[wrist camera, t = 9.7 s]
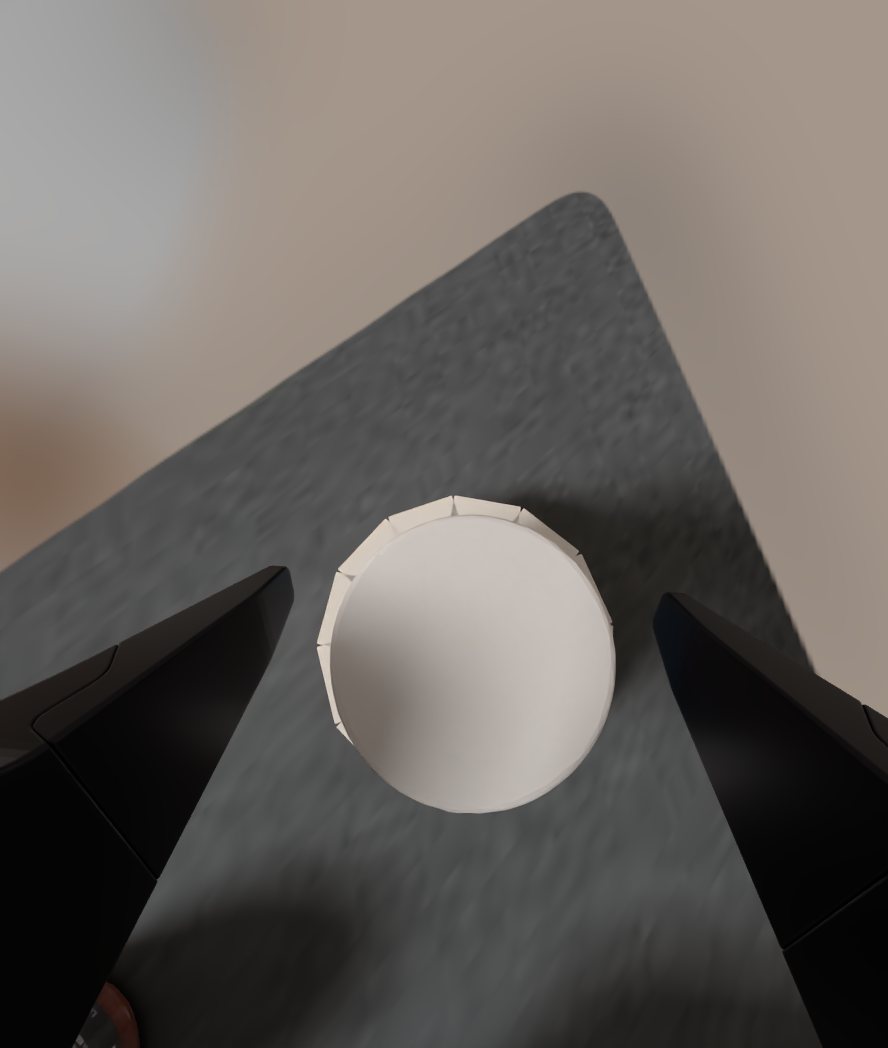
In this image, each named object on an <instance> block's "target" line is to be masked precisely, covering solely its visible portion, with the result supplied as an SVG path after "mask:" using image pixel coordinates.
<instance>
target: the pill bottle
mask: <svg viewBox="0 0 888 1048" xmlns="http://www.w3.org/2000/svg"><path fill="white" fill-rule="evenodd" d="M330 673H331V684H332V690H333V695H334V699H335V703H336V707H337V711H338V714H339V717H340V719H341V721H342V723H343V726H344V728H345V730H346V732H347V735H348V737H349V738H350V740H351V741H352V743H353V745H354V746H355V748H356V750H357V751H358V753H359V754H360V755H361V756H362V758H363V759H364V760H365V761H366V763H367V764H368V765H369V766H370V767H371V768H372V769H373V770H374V771H375V772H376V773H377V774H378V775H379V776H380V777H381V778H382V779H383V780H385V781H386V782H387V783H388V784H389V785H391V786H392V787H393V788H395V789H396V790H398V791H399V792H401V793H403V794H404V795H406V796H408V797H410V798H412V799H414V800H416V801H418V802H420V803H422V804H425V805H429V806H432V807H435V808H439V809H442V810H445V811H449V812H455V813H488V812H495V811H503V810H508V809H511V808H514V807H517V806H521V805H524V804H527V803H529V802H531V801H533V800H535V799H536V798H538V797H540V796H542V795H544V794H545V793H547V792H549V791H550V790H552V789H553V788H554V787H556V786H557V785H558V784H560V783H561V782H562V781H563V780H565V779H566V778H567V777H568V776H569V775H570V774H571V773H572V772H574V771H575V769H576V768H577V767H578V766H579V764H580V763H581V762H582V761H583V759H584V758H585V757H586V755H587V754H588V753H589V752H590V750H591V749H592V747H593V745H594V744H595V742H596V741H597V739H598V737H599V735H600V733H601V731H602V729H603V726H604V724H605V721H606V718H607V716H608V713H609V710H610V707H611V703H612V698H613V692H614V687H615V674H616V652H615V646H614V641H613V636H612V630H611V625H610V622H609V619H608V616H607V613H606V610H605V607H604V605H603V603H602V601H601V599H600V596H599V594H598V592H597V591H596V589H595V587H594V586H593V584H592V583H591V581H590V579H589V578H588V576H587V575H586V574H585V572H584V571H583V570H582V569H581V567H580V566H579V565H578V564H577V563H576V562H575V561H574V559H573V558H572V557H571V556H570V555H568V554H567V553H566V552H565V551H564V550H563V549H562V548H561V547H559V546H558V545H557V544H555V543H554V542H553V541H551V540H550V539H549V538H547V537H545V536H544V535H542V534H540V533H538V532H537V531H535V530H533V529H531V528H529V527H527V526H525V525H522V524H519V523H516V522H513V521H510V520H507V519H503V518H498V517H492V516H486V515H472V514H469V515H457V516H449V517H443V518H438V519H435V520H432V521H429V522H425V523H422V524H420V525H417V526H415V527H413V528H411V529H409V530H407V531H405V532H403V533H401V534H400V535H398V536H396V537H395V538H393V539H392V540H390V541H389V542H388V543H387V544H385V545H384V546H383V547H382V548H380V549H379V550H378V551H377V552H376V553H375V554H374V555H373V556H372V557H371V558H370V559H369V560H368V561H367V563H366V564H365V565H364V566H363V567H362V569H361V570H360V571H359V573H358V574H357V575H356V577H355V578H354V580H353V581H352V583H351V585H350V587H349V588H348V590H347V592H346V594H345V596H344V599H343V601H342V603H341V606H340V608H339V610H338V614H337V617H336V621H335V624H334V628H333V633H332V640H331V649H330Z"/></svg>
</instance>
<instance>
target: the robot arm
mask: <svg viewBox="0 0 888 1048" xmlns="http://www.w3.org/2000/svg"><path fill="white" fill-rule="evenodd" d="M293 602H294V589H293V584H292V579H291V574H290V571H289V569H288V568H287V567H285V566H269V567H267V568H265V569H263V570H261V571H259V572H257V573H255V574H253V575H251V576H249V577H247V578H245V579H243V580H242V581H240V582H238V583H236V584H234V585H232V586H230V587H228V588H226V589H224V590H222V591H220V592H218V593H216V594H214V595H212V596H210V597H208V598H206V599H204V600H202V601H200V602H198V603H196V604H195V605H193V606H191V607H189V608H187V609H185V610H183V611H181V612H179V613H177V614H175V615H173V616H171V617H169V618H167V619H165V620H163V621H161V622H159V623H157V624H155V625H153V626H151V627H149V628H148V629H146V630H144V631H142V632H140V633H138V634H136V635H134V636H132V637H130V638H128V639H126V640H124V641H122V642H120V643H119V645H114V646H112V647H110V648H108V649H106V650H104V651H102V652H100V653H99V654H97V655H95V656H93V657H91V658H89V659H86V660H84V661H82V662H80V663H78V664H76V665H74V666H72V667H70V668H68V669H66V670H64V671H62V672H60V673H58V674H56V675H54V676H51V677H49V678H47V679H45V680H43V681H41V682H38V683H36V684H34V685H32V686H30V687H28V688H25V689H23V690H21V691H19V692H17V693H14V694H12V695H10V696H8V697H6V698H3V699H1V700H0V1048H72V1047H73V1045H74V1043H75V1042H76V1040H77V1038H78V1036H79V1034H80V1032H81V1030H82V1028H83V1026H84V1024H85V1022H86V1020H87V1018H88V1016H89V1014H90V1012H91V1010H92V1008H93V1006H94V1004H95V1003H96V1001H97V999H98V997H99V995H100V993H101V991H102V989H103V987H104V985H105V983H106V981H107V979H108V977H109V975H110V973H111V971H112V969H113V967H114V966H115V964H116V962H117V960H118V958H119V956H120V954H121V952H122V950H123V948H124V946H125V944H126V942H127V940H128V938H129V936H130V934H131V932H132V930H133V929H134V927H135V925H136V923H137V921H138V919H139V917H140V915H141V913H142V911H143V909H144V907H145V905H146V903H147V901H148V899H149V897H150V895H151V893H152V892H153V890H154V888H155V886H156V884H157V879H158V878H159V877H160V875H161V873H162V871H163V869H164V867H165V866H166V864H167V862H168V860H169V858H170V856H171V854H172V852H173V850H174V848H175V846H176V844H177V842H178V840H179V838H180V836H181V834H182V832H183V830H184V829H185V827H186V825H187V823H188V821H189V819H190V817H191V815H192V813H193V811H194V809H195V807H196V805H197V803H198V801H199V799H200V797H201V795H202V793H203V792H204V790H205V788H206V786H207V784H208V782H209V780H210V778H211V776H212V774H213V772H214V770H215V768H216V766H217V764H218V762H219V760H220V758H221V756H222V755H223V753H224V751H225V749H226V747H227V745H228V743H229V741H230V739H231V737H232V735H233V733H234V731H235V729H236V727H237V725H238V723H239V721H240V719H241V717H242V716H243V714H244V712H245V710H246V708H247V706H248V704H249V702H250V700H251V698H252V696H253V694H254V692H255V690H256V688H257V686H258V684H259V682H260V680H261V679H262V677H263V675H264V673H265V671H266V669H267V667H268V665H269V663H270V661H271V659H272V657H273V654H274V652H275V649H276V647H277V644H278V642H279V639H280V636H281V634H282V631H283V628H284V626H285V623H286V621H287V618H288V615H289V613H290V610H291V607H292V605H293ZM653 630H654V633H655V637H656V640H657V644H658V647H659V650H660V654H661V657H662V660H663V664H664V667H665V670H666V674H667V677H668V680H669V683H670V686H671V689H672V691H673V694H674V696H675V699H676V701H677V704H678V706H679V708H680V711H681V713H682V716H683V718H684V720H685V723H686V725H687V727H688V730H689V732H690V734H691V737H692V739H693V742H694V744H695V746H696V749H697V751H698V753H699V756H700V758H701V760H702V763H703V765H704V768H705V770H706V772H707V775H708V777H709V779H710V782H711V784H712V786H713V789H714V791H715V794H716V796H717V798H718V801H719V803H720V805H721V808H722V810H723V812H724V815H725V817H726V820H727V822H728V824H729V827H730V829H731V831H732V834H733V836H734V838H735V841H736V843H737V846H738V848H739V850H740V853H741V855H742V857H743V860H744V862H745V864H746V867H747V869H748V872H749V874H750V876H751V879H752V881H753V883H754V886H755V888H756V890H757V893H758V895H759V898H760V900H761V902H762V905H763V907H764V909H765V912H766V914H767V916H768V919H769V921H770V924H771V926H772V928H773V931H774V933H775V935H776V938H777V940H778V942H779V945H780V947H781V948H782V949H784V950H783V951H782V953H783V955H784V958H785V960H786V962H787V965H788V967H789V969H790V972H791V974H792V976H793V979H794V981H795V984H796V986H797V988H798V991H799V993H800V995H801V998H802V1000H803V1002H804V1005H805V1007H806V1009H807V1012H808V1014H809V1017H810V1019H811V1021H812V1024H813V1026H814V1028H815V1031H816V1033H817V1035H818V1038H819V1040H820V1043H821V1045H822V1047H823V1048H888V718H886V717H885V716H883V715H882V714H880V713H878V712H877V711H875V710H873V709H872V708H870V707H869V706H867V705H862V704H861V702H860V701H858V700H857V699H855V698H854V697H852V696H850V695H849V694H847V693H845V692H844V691H842V690H841V689H839V688H837V687H836V686H834V685H833V684H831V683H829V682H828V681H826V680H824V679H823V678H821V677H819V676H818V675H816V674H815V673H813V672H811V671H810V670H808V669H806V668H805V667H803V666H802V665H800V664H798V663H797V662H795V661H793V660H792V659H790V658H788V657H787V656H785V655H784V654H782V653H780V652H779V651H777V650H775V649H774V648H772V647H771V646H769V645H767V644H766V643H764V642H762V641H761V640H759V639H758V638H756V637H754V636H753V635H751V634H749V633H748V632H746V631H744V630H743V629H741V628H740V627H738V626H736V625H735V624H733V623H731V622H730V621H728V620H727V619H725V618H723V617H722V616H720V615H718V614H717V613H715V612H713V611H712V610H710V609H709V608H707V607H705V606H704V605H702V604H700V603H699V602H697V601H696V600H694V599H692V598H691V597H689V596H687V595H686V594H683V593H671V592H667V593H664V594H663V595H662V597H661V599H660V602H659V604H658V607H657V610H656V612H655V615H654V617H653Z"/></svg>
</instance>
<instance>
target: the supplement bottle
mask: <svg viewBox="0 0 888 1048" xmlns="http://www.w3.org/2000/svg"><path fill="white" fill-rule="evenodd" d="M72 1048H140V1046H139V1033H138V1028H137V1023H136V1021H135V1017H134V1013H133V1012H132V1009H131V1006H130V1005H129V1002H128V1001H127V1000H126V998H125V997H124V996H123V995H122V994H121V993H120V991H119V990H118V989H117V988H116V987H115V986H114V984H109V983H108V982H107V981H106V983H105V985H104V987H103V989H102V991H101V993H100V995H99V997H98V999H97V1001H96V1003H95V1004H94V1006H93V1008H92V1010H91V1012H90V1014H89V1016H88V1018H87V1020H86V1022H85V1024H84V1026H83V1028H82V1030H81V1032H80V1034H79V1036H78V1038H77V1040H76V1042H75V1043H74V1045H73V1047H72Z"/></svg>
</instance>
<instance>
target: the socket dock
mask: <svg viewBox="0 0 888 1048" xmlns="http://www.w3.org/2000/svg"><path fill="white" fill-rule="evenodd" d="M520 509H521V507H519V506H513V505H507V504H501V503H495V502H490V501H484V500H478V499H472V498H466V497H461V496H454V501H453V499H452V496H449V497H446V498H443V499H440V500H437V501H434V502H431V503H428V504H425V505H422V506H419V507H416V508H413V509H410V510H407V511H404V512H401V513H398V514H395V515H392V516H389V517H388V518H389V521H390V522H389V521H388V520H386V519H385V520H384V521H383V522H382V523H381V524H380V525H379V526H378V527H377V528H376V529H375V530H374V531H373V532H372V534H371V535H370V536H369V537H368V538H367V539H366V540H365V541H364V542H363V543H362V544H361V545H360V546H359V547H358V548H357V549H356V551H355V552H354V553H353V554H352V555H351V556H350V557H349V558H348V559H347V560H346V561H345V562H344V563H343V564H342V565H341V566H340V568H339V569H338V570H340V571H341V572H342V573H338V572H336V575H335V579H334V582H333V586H332V590H331V593H330V597H329V601H328V604H327V608H326V612H325V616H324V619H323V623H322V627H321V630H320V634H319V638H318V641H317V644H322V646H319V647H317V650H318V654H319V659H320V663H321V667H322V671H323V676H324V680H325V684H326V688H327V693H328V697H329V701H330V705H331V710H332V714H333V718H334V722H335V724H336V723H338V722H341V719H340V717H339V714H338V711H337V707H336V703H335V699H334V695H333V690H332V684H331V673H330V649H331V640H332V633H333V628H334V624H335V621H336V617H337V614H338V610H339V608H340V606H341V603H342V601H343V599H344V596H345V594H346V592H347V590H348V588H349V587H350V585H351V583H352V581H353V580H354V578H355V577H356V575H357V574H358V573H359V571H360V570H361V569H362V567H363V566H364V565H365V564H366V563H367V561H368V560H369V559H370V558H371V557H372V556H373V555H374V554H375V553H376V552H377V551H378V550H379V549H380V548H382V547H383V546H384V545H385V544H387V543H388V542H389V541H390V540H392V539H393V538H395V537H396V536H398V535H400V534H401V533H403V532H405V531H407V530H409V529H411V528H413V527H415V526H417V525H420V524H422V523H425V522H429V521H432V520H435V519H438V518H443V517H449V516H457V515H469V514H472V515H486V516H492V517H498V518H503V519H507V520H510V521H513V522H516V523H519V524H522V525H525V526H527V527H529V528H531V529H533V530H535V531H537V532H538V533H540V534H542V535H544V536H545V537H547V538H549V539H550V540H551V541H553V542H554V543H555V544H557V545H558V546H559V547H561V548H562V549H563V550H564V551H565V552H566V553H567V554H568V555H570V556H571V557H572V558H573V559H574V561H575V562H576V563H577V564H578V565H579V566H580V567H581V569H582V570H583V571H584V572H585V574H586V575H587V576H588V578H589V579H590V581H591V583H592V584H593V586H594V587H595V589H596V591H597V592H598V594H599V596H600V599H601V601H602V603H603V605H604V607H605V610H606V613H607V616H608V619H609V622H610V623H612V620H611V617H610V615H609V613H608V611H607V609H606V606H605V604H604V602H603V600H602V598H601V595H600V593H599V591H598V589H597V587H596V584H595V582H594V580H593V578H592V576H591V573H590V571H589V569H588V567H587V565H586V562H585V560H584V558H583V556H582V554H580V555H577V554H578V552H579V550H577V549H576V548H575V547H573V546H572V545H571V544H569V543H568V542H567V541H566V540H564V539H563V538H562V537H560V536H559V535H558V534H557V533H555V532H554V531H553V530H551V529H550V528H549V527H548V526H546V525H545V524H544V523H542V522H541V521H540V520H538V519H537V518H536V517H535V516H533V515H532V514H531V513H529V512H528V511H527V510H526V509H523V510H522V511H521V512H520ZM576 555H577V556H576ZM611 630H612V636H613V626H611ZM337 728H338V729H339V730H340V731H341V732H342V733H343V734H344V736H345V737H346V738H347V739H348V740H349V741H350V742H351V743H352V741H351V740H350V738H349V737H348V735H347V732H346V730H345V728H344V726H343V723H342V722H341V723H340V724H339V725H338V726H337ZM352 744H353V743H352Z"/></svg>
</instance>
